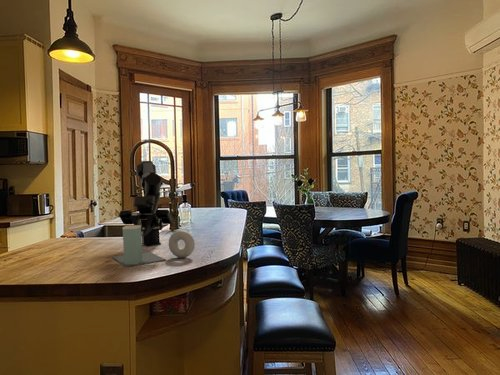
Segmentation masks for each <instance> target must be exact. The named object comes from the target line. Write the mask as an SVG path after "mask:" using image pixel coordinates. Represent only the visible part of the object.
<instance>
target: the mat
mask: <svg viewBox="0 0 500 375" xmlns="http://www.w3.org/2000/svg"><path fill="white" fill-rule="evenodd" d="M111 257H112V259H114V260H115V261H116V262H118V263H120V265H122V266H124V267H125V268H130V267H135V266H142V265H147V264H155V263H160V262H165V261H166V260H167V259H165V258H164V257H162V256H159V255H158V254H155V253H153V252H151V251H148V250H145V251H142V260H143V261H142V262H140V263H139V264H124V254H120V255H114V256H113V255H112V256H111Z"/></svg>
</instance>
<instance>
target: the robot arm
mask: <svg viewBox="0 0 500 375" xmlns="http://www.w3.org/2000/svg"><path fill="white" fill-rule="evenodd" d="M156 168H157V167H156V165H155V164H154V162H153V160H141V161H140V163H139V164H137V165H136V169H135V170H136V177H138V182H139V183H140V188H141V189H142V191H143V192H142V193H143V195H141V196H140V195H139V196H134V199H133V200H134V201H133V206H135V208H136V211H132V210H131V209H122V210H120V211H119V213H118V217H119V218H120V220H121V222H122V223H123V224H124V225H141V238H142V246H145V247H151V246H158V245H162V243H161V242H160V231H162V230H163V225H170V224H172V222H173V217H172V214H171V212H170V210H169V209H167V208H166V209H159V208H158V205H159V201H160V198H161V192H160V191H161V187H162V185H164V181H163V180H162V178H161V177H160V175H158V174H157V170H156Z"/></svg>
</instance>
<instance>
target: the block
mask: <svg viewBox="0 0 500 375" xmlns="http://www.w3.org/2000/svg"><path fill="white" fill-rule="evenodd" d="M122 242H123V243H122V244H123V247H122V248H123V255H124V264H139V263H140V262H142V261H143V260H142V252H143V244H142V232H141V225H134V224H127V225H126V226H125V225H124V226H123V227H122Z"/></svg>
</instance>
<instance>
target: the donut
mask: <svg viewBox="0 0 500 375" xmlns="http://www.w3.org/2000/svg"><path fill="white" fill-rule="evenodd" d="M180 240H182V241H183V243H184V247H183V248H181V247H180V246H179V241H180ZM195 246H196V245H195V239H194V237H193V235H192V234H191V233H190V232H189V231H188V230H187V231H186V230H183V229H181V230H176V231H174V232H173V233H172V234H171V235H170V237H169V239H168V248H169V251H170V252H171V253H172V254H173V256H174V257H176V258H180V259H182V258H183V259H185V258H188V257H189V256H191V255H192V254H193V252H194V250H195Z"/></svg>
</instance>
